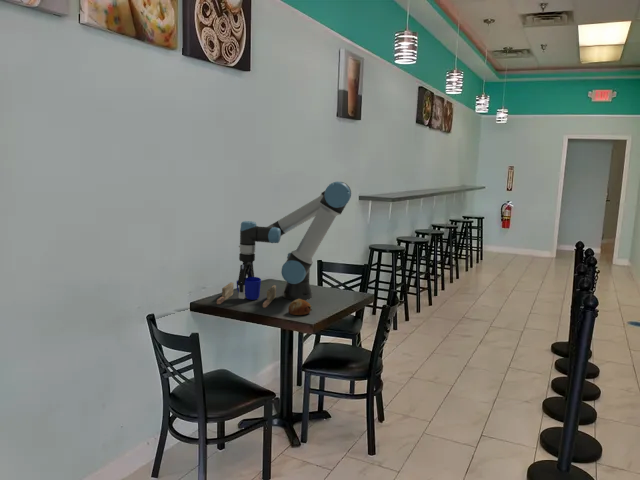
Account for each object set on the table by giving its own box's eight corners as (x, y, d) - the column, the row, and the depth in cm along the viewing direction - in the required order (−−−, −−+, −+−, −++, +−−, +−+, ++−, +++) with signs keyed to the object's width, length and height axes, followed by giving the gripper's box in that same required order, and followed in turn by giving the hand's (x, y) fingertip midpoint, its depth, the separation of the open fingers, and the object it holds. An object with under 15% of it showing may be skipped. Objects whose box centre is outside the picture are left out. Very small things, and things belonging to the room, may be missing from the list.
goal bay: (269, 304, 251) (269, 300, 251) (265, 307, 244) (266, 303, 244) (221, 300, 254) (221, 296, 254) (216, 304, 247) (216, 299, 247)
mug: (237, 295, 263) (237, 276, 261) (260, 295, 264) (261, 276, 262) (235, 300, 255) (236, 281, 253) (260, 301, 256) (260, 282, 254)
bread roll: (297, 317, 241) (290, 301, 242) (316, 308, 238) (308, 292, 239) (290, 322, 232) (282, 306, 232) (309, 313, 229) (301, 297, 229)
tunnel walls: (275, 297, 266) (276, 285, 265) (269, 303, 252) (270, 291, 251) (230, 293, 269) (230, 282, 268) (222, 300, 255) (222, 288, 254)
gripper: (247, 248, 266) (245, 288, 269) (231, 256, 241) (230, 300, 244) (261, 249, 265) (259, 289, 268) (247, 258, 240) (245, 302, 243)
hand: (245, 295), depth 256 cm, fingers open, 13 cm apart
